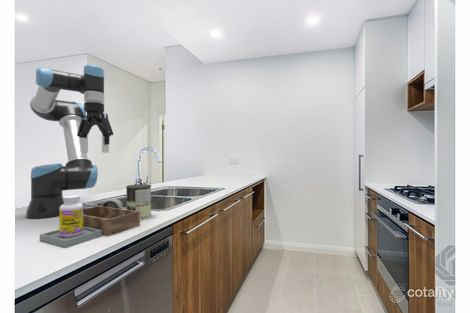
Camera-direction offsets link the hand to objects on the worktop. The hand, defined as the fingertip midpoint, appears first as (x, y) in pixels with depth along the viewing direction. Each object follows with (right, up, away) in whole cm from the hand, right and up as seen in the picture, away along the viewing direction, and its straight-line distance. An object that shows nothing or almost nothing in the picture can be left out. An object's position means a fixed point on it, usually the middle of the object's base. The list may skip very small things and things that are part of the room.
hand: (94, 152), depth 107 cm
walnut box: (+9, -29, -9) cm, 32 cm away
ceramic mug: (+3, -29, +7) cm, 30 cm away
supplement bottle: (+5, -28, -23) cm, 37 cm away
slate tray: (+5, -29, -23) cm, 38 cm away
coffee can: (+17, -29, +4) cm, 34 cm away
